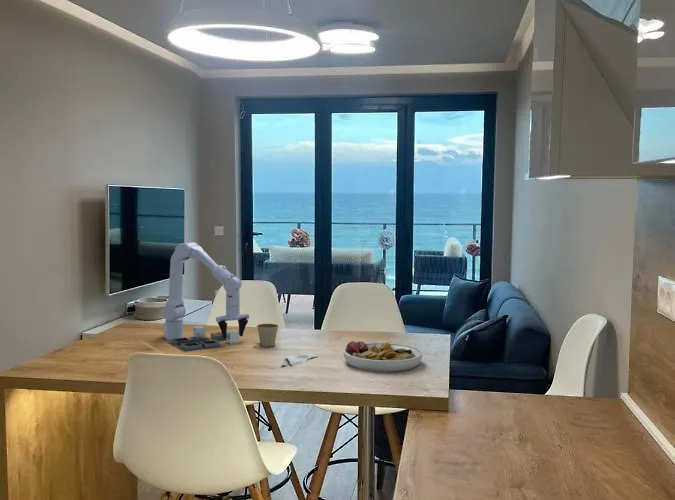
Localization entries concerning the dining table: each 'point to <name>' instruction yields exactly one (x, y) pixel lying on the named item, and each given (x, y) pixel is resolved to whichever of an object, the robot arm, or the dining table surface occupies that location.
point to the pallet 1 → (185, 341)
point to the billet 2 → (232, 336)
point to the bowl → (382, 356)
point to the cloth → (297, 359)
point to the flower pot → (267, 334)
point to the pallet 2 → (199, 345)
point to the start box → (217, 337)
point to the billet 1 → (199, 332)
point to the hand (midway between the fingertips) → (232, 337)
